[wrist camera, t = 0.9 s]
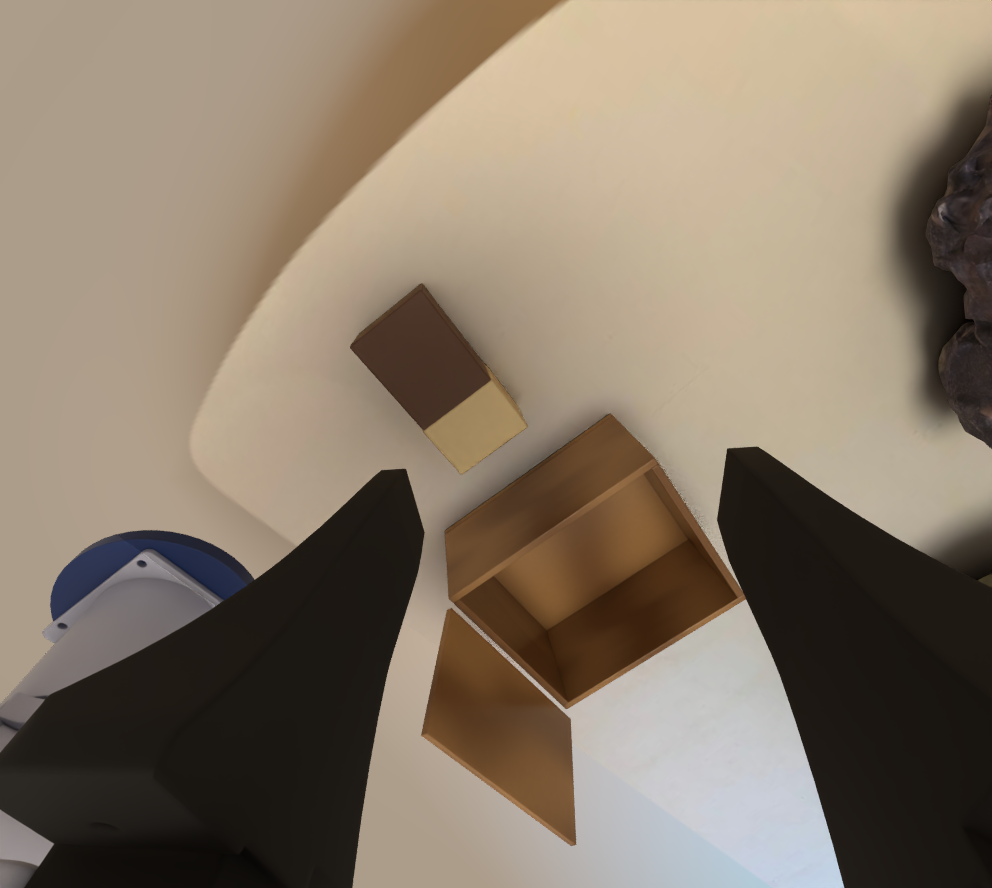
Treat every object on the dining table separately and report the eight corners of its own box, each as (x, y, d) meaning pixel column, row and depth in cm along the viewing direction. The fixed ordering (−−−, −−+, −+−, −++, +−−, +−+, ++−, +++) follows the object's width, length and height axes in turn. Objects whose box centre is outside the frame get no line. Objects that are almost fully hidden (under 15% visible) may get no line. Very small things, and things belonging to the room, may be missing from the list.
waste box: (544, 632, 33) (566, 709, 28) (444, 530, 29) (448, 599, 24) (693, 536, 32) (747, 598, 26) (610, 413, 27) (654, 457, 22)
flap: (570, 718, 27) (566, 720, 27) (451, 607, 23) (446, 609, 23) (576, 845, 22) (570, 846, 23) (426, 734, 18) (420, 735, 18)
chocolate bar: (518, 406, 26) (528, 427, 24) (458, 450, 27) (461, 475, 24) (422, 282, 23) (421, 288, 21) (357, 334, 24) (347, 348, 21)
